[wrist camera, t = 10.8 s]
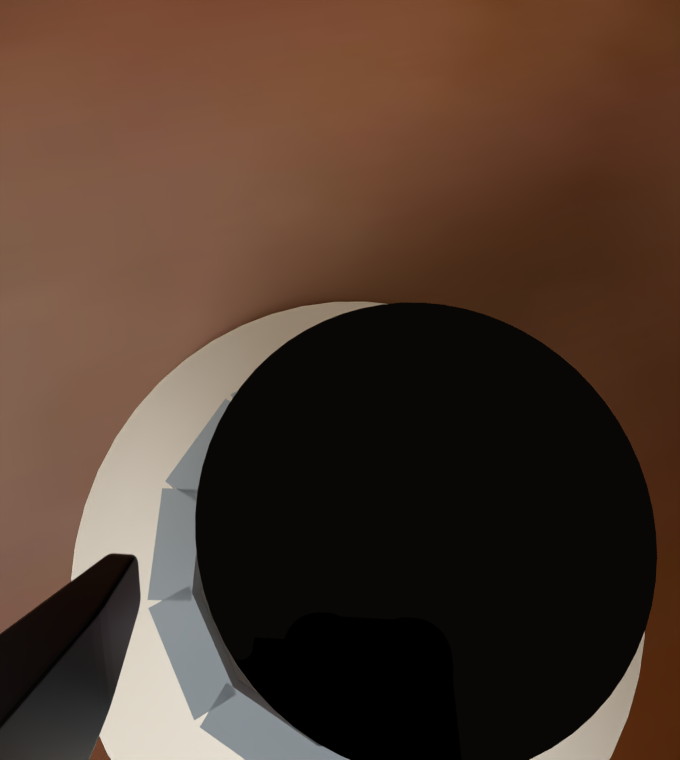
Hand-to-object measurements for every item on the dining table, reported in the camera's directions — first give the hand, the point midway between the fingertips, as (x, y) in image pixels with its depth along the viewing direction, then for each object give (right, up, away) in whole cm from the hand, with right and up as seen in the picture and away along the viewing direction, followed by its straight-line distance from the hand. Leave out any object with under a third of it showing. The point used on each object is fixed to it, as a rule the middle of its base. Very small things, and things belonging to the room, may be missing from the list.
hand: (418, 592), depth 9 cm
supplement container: (0, -2, +9) cm, 9 cm away
